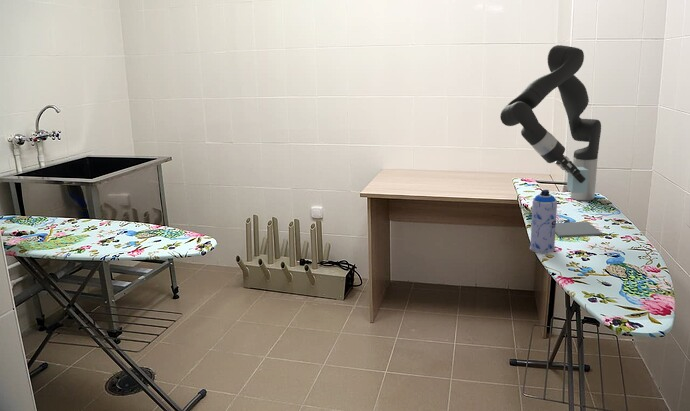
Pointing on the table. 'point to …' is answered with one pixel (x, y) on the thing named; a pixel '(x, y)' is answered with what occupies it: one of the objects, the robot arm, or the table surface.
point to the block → (577, 182)
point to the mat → (576, 229)
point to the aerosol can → (543, 223)
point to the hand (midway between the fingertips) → (579, 179)
